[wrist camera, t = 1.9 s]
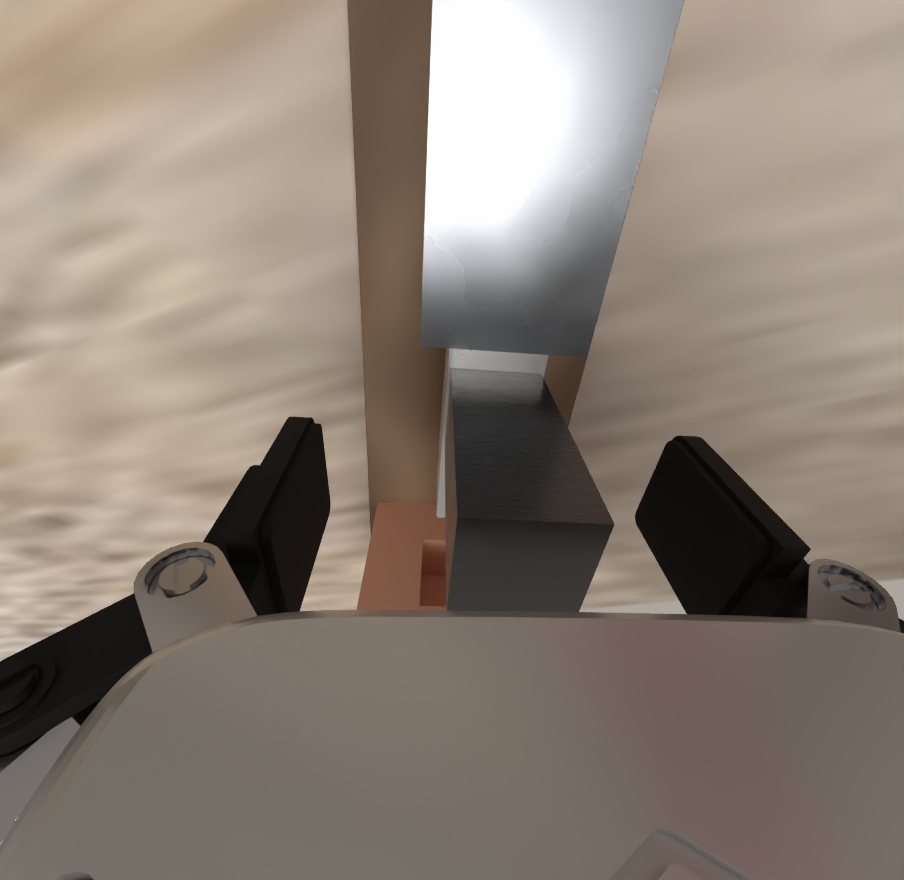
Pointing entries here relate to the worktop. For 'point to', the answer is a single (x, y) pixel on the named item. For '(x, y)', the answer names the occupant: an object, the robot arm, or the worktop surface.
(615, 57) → the outer sleeve
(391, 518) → the socket block
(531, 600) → the tube
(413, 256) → the base board
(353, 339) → the worktop surface
